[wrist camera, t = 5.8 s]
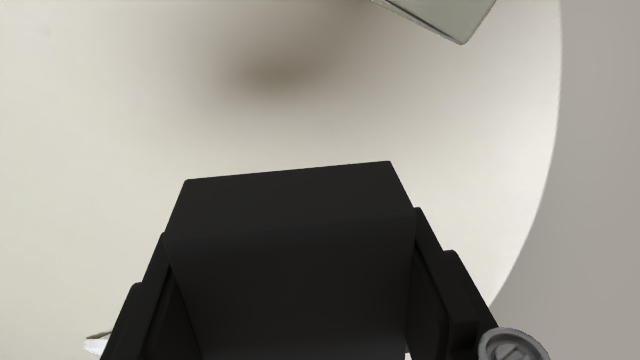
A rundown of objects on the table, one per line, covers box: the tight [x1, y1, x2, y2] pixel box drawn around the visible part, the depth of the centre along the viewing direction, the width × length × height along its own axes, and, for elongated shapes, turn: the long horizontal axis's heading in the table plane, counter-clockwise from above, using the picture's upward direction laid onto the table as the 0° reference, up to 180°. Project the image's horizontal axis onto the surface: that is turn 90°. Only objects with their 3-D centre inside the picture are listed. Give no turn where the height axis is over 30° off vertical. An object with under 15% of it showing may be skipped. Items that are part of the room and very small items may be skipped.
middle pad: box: [162, 161, 417, 360], centre depth 11 cm, size 6×6×2 cm
